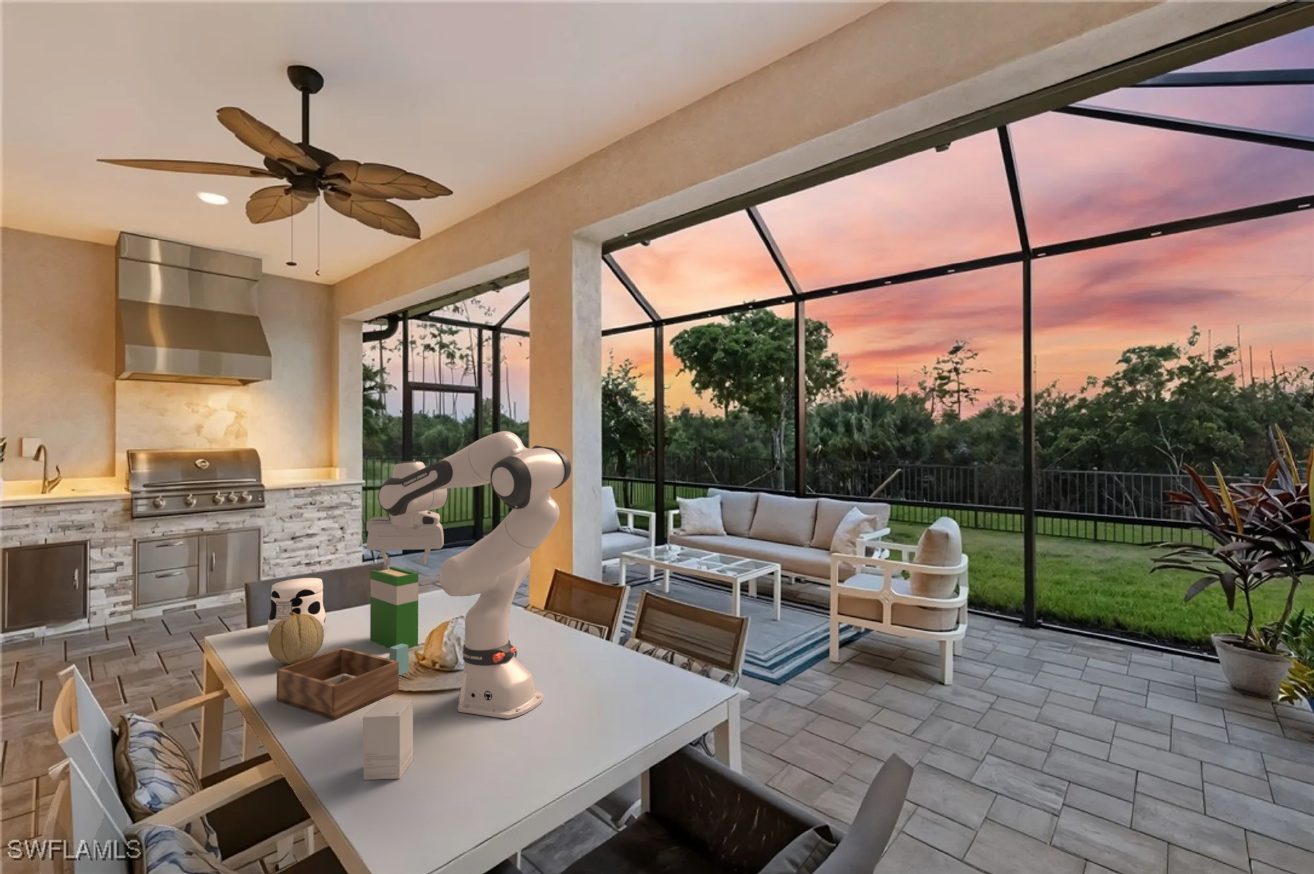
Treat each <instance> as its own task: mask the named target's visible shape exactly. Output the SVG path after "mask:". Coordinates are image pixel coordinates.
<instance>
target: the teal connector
mask: <svg viewBox="0 0 1314 874" xmlns="http://www.w3.org/2000/svg"><path fill="white" fill-rule="evenodd" d="M389 659H390V660H394V661H398V662H399V675H401V676H403V675H402V674H403V673H406V674H408V673H409V648H408V645H406V644H402V643H401V644H399V645H396V646H393V647H390V649H389ZM407 672H408V673H407Z"/></svg>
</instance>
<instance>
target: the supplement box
mask: <svg viewBox="0 0 1314 874" xmlns="http://www.w3.org/2000/svg"><path fill="white" fill-rule="evenodd" d="M413 701H414V700H413V699H409V700H406V699H405V700H378V701H377V702H376V704H375V705H374V706H373V707H371V709H369V711H368V712H367V713H366V714H365V715H364V716H363V717H362V724H363V725H362V726H363V727H362V729H363V732H362V733H363V739H362V740H363V741H362V742H363V743H362V744H363V758H362V759H363V780H364V781H368V780H369V781H371V780H372V781H373V780H394V779H395V780H396V779H397V780H398V779H401V777H402V776H403V775H404V773H405V772H406V770H407V769H408V768H409V766H410V765H411V763H412V762H413V760H414V702H413Z"/></svg>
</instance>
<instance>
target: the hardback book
mask: <svg viewBox="0 0 1314 874" xmlns="http://www.w3.org/2000/svg"><path fill="white" fill-rule="evenodd" d="M369 586H370V592H369V593H370V601H369V602H370V606H369V609H370V612H369V613H370V614H369V616H370V618H369V619H370V621H369V636H370V638H369V640H370V641H371V642H372V643H375V644H377V645H380V646H382V647H384V648H387V649H389V650H390V647H393V646H396V645H399V644H401V643H402V644H406V645H408V649H410V648H415V647H417V646H419V573H418V572H416V571H410V570H407V569H403V568H399V567H395V566H389V568H387V569H382V570H376V569H370V585H369Z"/></svg>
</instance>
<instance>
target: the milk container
mask: <svg viewBox="0 0 1314 874" xmlns="http://www.w3.org/2000/svg"><path fill="white" fill-rule="evenodd" d="M323 591H324V584H323V579H322V578H317V577H301V578H292V579H287V580H283V581H279V582H275V583H274V584H272V585H271V592H270V593H271V594H270V595H271V596H270V597H271V598H270V613H269V616H268V619H267V630H268V633H269V634H270V632H271V631H272V629H273V628H274V626H275V625H276V624H277V623H278V622H279V621H281V620H282V619H284V618H286V617H289V616H292V615H289V614H290V612H294V613H296V614H308V615H312V616H314V617H315V618H316V619H317V620H318V621H320V623H321V625H322V626H323V627H324V625H326V614H327V613H326V610H325V608H324V603H323V601H324V600H323V599H324V592H323Z"/></svg>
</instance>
